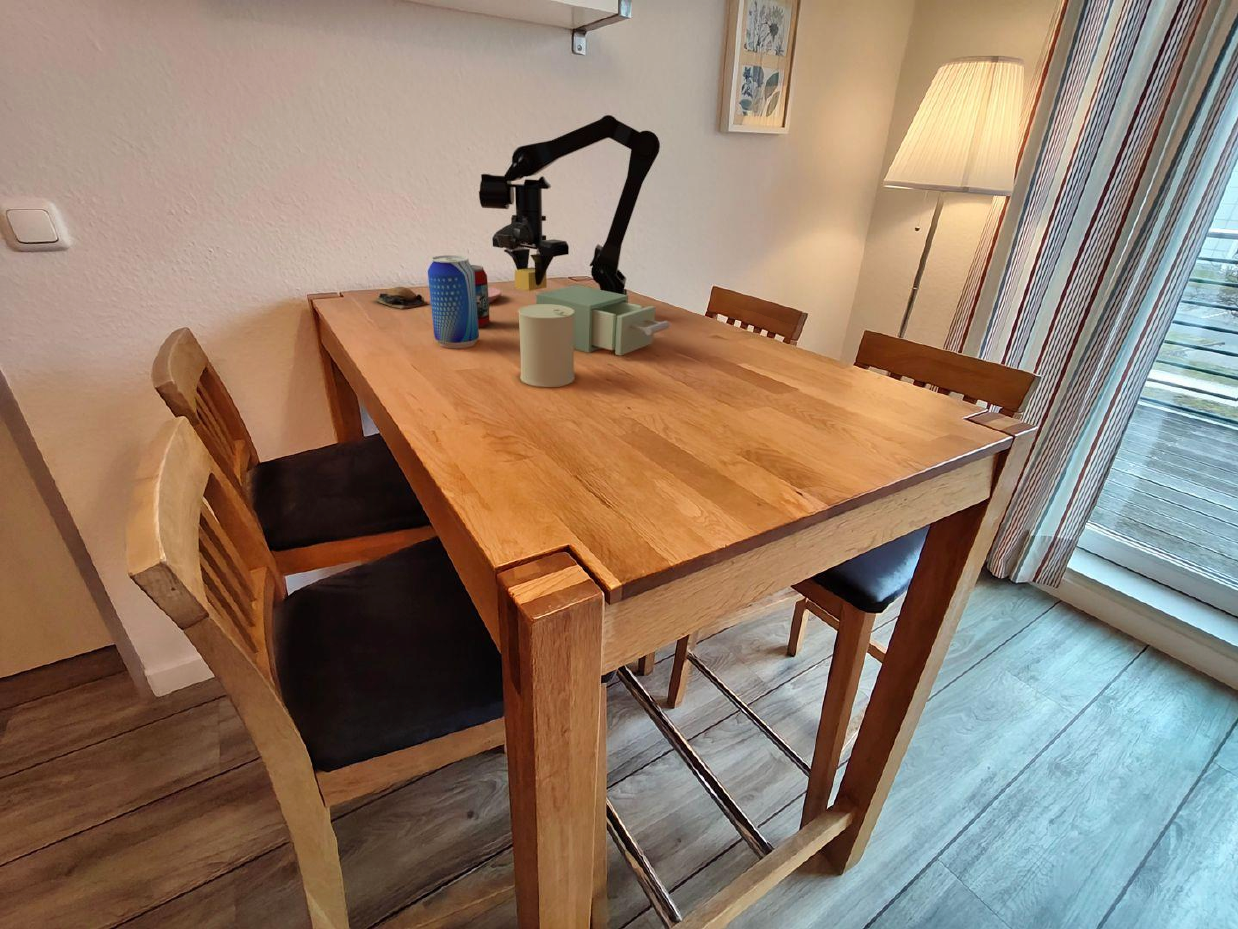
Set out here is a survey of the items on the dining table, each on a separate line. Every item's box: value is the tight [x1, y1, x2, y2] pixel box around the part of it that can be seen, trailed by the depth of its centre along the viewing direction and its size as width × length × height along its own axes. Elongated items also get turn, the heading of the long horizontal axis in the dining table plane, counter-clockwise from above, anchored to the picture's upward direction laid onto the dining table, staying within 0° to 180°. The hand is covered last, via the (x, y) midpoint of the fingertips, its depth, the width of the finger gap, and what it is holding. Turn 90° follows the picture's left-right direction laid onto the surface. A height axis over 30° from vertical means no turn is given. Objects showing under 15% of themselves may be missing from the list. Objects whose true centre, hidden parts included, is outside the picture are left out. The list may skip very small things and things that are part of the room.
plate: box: [488, 286, 502, 304], centre depth 147 cm, size 14×14×2 cm
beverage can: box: [470, 264, 491, 328], centre depth 125 cm, size 7×7×12 cm
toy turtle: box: [374, 286, 428, 310], centre depth 140 cm, size 11×8×4 cm
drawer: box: [591, 302, 671, 356], centre depth 114 cm, size 17×11×7 cm, turn 54°
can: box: [517, 303, 575, 388], centre depth 97 cm, size 9×9×12 cm
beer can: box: [427, 254, 480, 350], centre depth 111 cm, size 8×8×16 cm
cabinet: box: [535, 284, 629, 354], centre depth 119 cm, size 14×13×9 cm
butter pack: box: [514, 266, 547, 292], centre depth 136 cm, size 4×6×4 cm
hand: (530, 283), depth 136 cm, fingers closed on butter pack, 4 cm apart
